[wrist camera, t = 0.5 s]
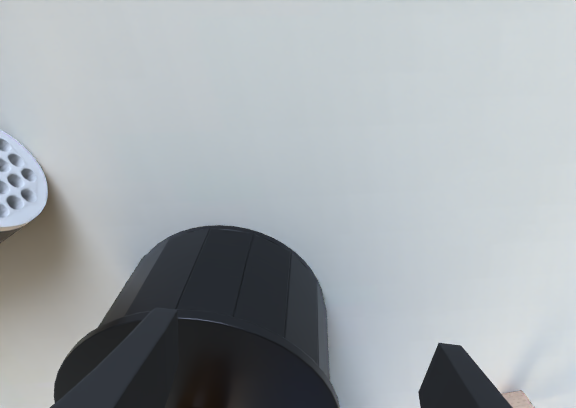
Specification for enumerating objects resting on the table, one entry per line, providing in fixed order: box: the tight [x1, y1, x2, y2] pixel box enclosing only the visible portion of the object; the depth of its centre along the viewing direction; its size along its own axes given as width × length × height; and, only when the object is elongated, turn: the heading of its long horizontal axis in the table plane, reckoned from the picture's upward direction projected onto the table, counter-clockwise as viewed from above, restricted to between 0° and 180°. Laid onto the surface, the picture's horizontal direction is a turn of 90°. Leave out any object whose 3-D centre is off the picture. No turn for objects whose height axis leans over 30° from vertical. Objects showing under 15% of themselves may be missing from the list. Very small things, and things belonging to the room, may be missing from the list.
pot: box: [99, 225, 330, 381], centre depth 21 cm, size 11×11×7 cm
